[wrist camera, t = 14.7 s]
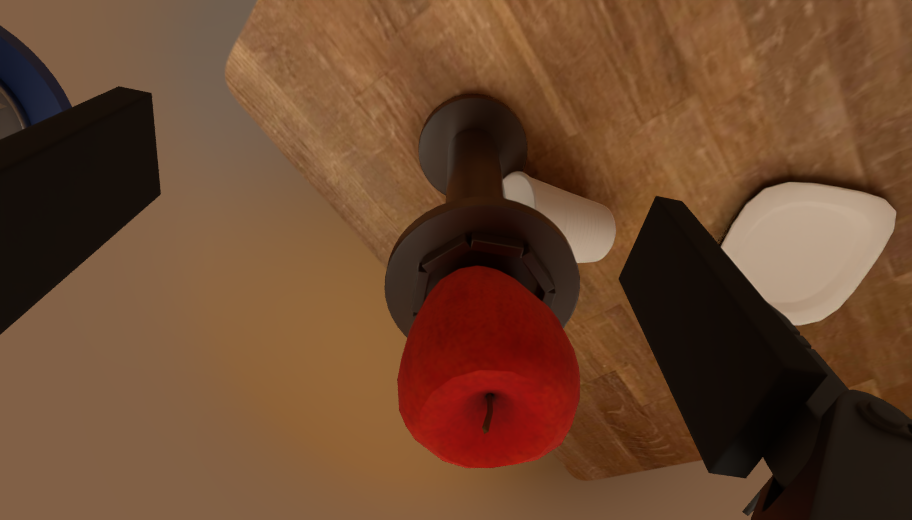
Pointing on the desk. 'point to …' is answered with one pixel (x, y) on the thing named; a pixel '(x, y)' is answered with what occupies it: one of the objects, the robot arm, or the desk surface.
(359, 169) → the desk surface
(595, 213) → the cup
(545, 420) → the apple
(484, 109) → the holder
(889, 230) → the plate
